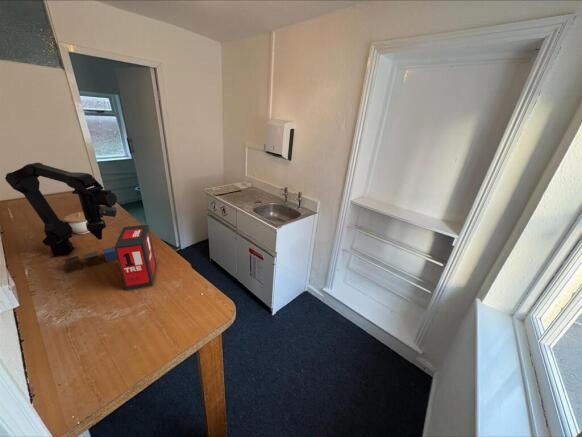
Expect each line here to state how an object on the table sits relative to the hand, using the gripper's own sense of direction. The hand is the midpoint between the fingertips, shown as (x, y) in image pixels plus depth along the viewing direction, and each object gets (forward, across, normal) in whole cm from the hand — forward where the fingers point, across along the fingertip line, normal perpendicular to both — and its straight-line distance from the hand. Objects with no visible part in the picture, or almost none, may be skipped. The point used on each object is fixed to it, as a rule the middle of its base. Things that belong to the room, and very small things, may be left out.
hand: (99, 235), depth 106 cm
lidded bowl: (+12, +34, +6) cm, 36 cm away
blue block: (+11, -4, -2) cm, 12 cm away
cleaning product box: (+11, -26, -10) cm, 30 cm away
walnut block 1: (+11, -4, +11) cm, 16 cm away
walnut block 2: (+11, -4, +4) cm, 13 cm away
